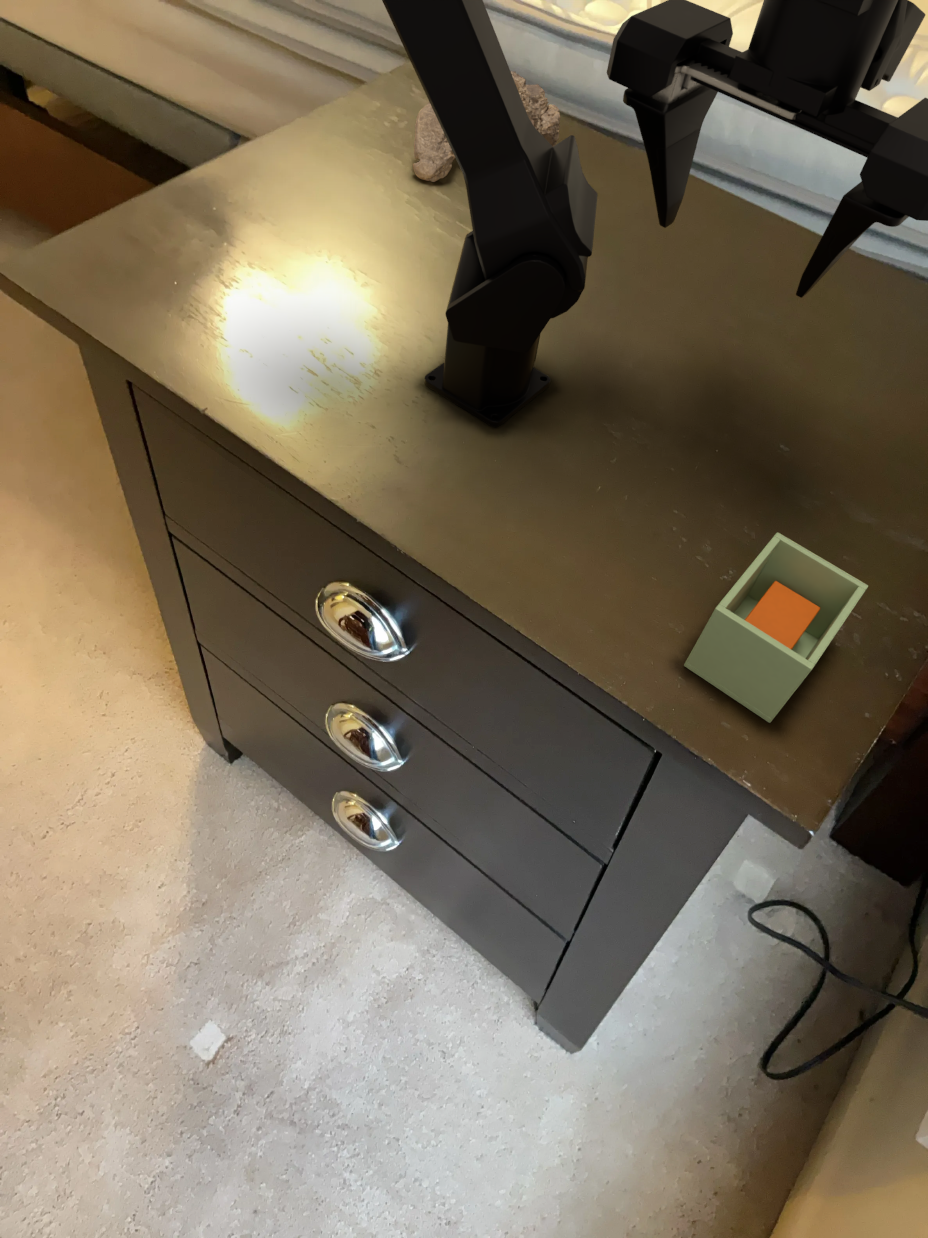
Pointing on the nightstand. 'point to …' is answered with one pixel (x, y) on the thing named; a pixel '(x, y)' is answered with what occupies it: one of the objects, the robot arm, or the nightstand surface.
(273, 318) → the nightstand surface
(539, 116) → the rock
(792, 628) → the orange block
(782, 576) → the trash bin
